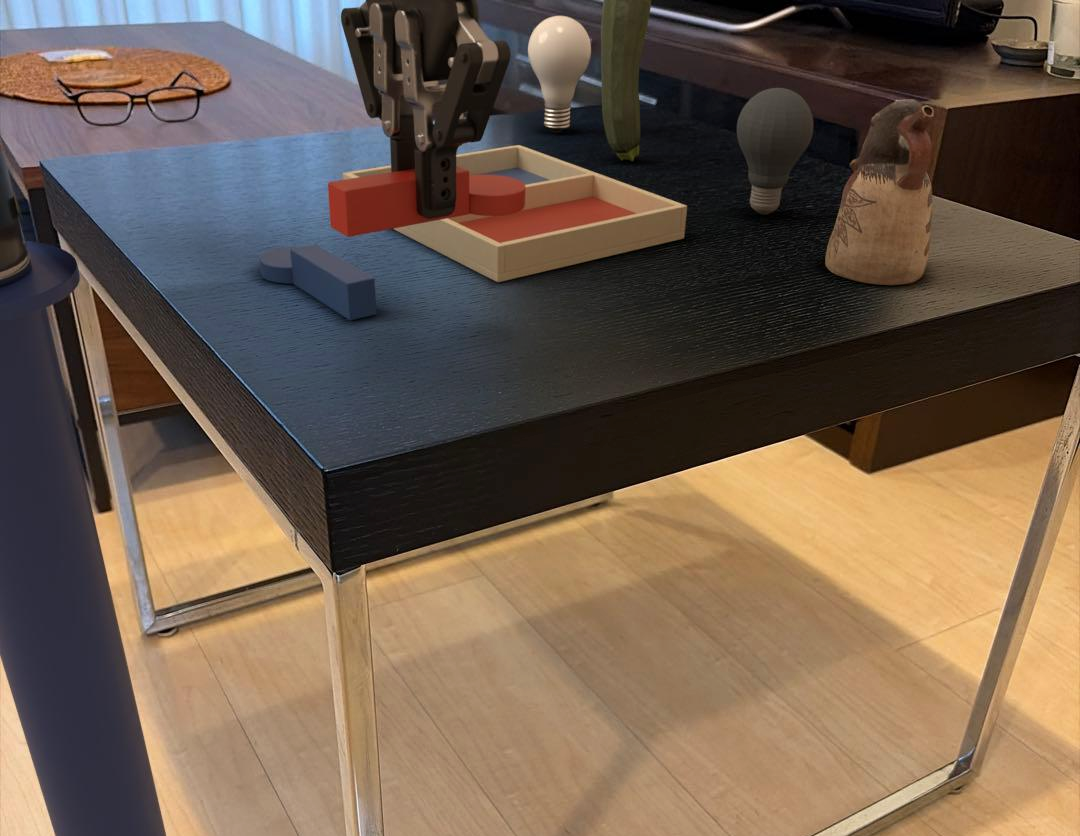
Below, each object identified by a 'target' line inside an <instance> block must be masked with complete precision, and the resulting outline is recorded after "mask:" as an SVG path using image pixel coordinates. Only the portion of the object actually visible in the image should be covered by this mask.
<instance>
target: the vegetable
mask: <svg viewBox="0 0 1080 836" xmlns="http://www.w3.org/2000/svg"><path fill="white" fill-rule="evenodd" d="M602 2H603V3H602V8H601V24H600V26H601V27H600V44H601V45H600V47H601V48H600V50H601V56H600V57H601V58H600V61H601V62H600V65H601V66H600V67H601V73H600V74H601V106H602V107H601V109H602V121H603V126H604V127H603V128H604V132H605V136H606V139H607V140H606V141H607V143H608V145H609V147H610V148H611V149H612V151H613V152H614V153H615V154H616V156H617V158H618V159H619V160H620V161H624V160H629V161H630V162H634V160H635V157H638V156H639V154H640V142H641V112H640V111H641V106H640V105H641V103H640V92H639V78H640V77H639V75H640V65H641V64H640V62H641V56H642V51H643V48H644V43H645V38H646V35H647V34H646V33H647V30H648V24H649V20H650V13H651V7H652V0H602Z"/></svg>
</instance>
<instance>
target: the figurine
mask: <svg viewBox="0 0 1080 836" xmlns="http://www.w3.org/2000/svg"><path fill="white" fill-rule="evenodd" d="M934 116H935V111H934V108H933V107H931V106H930V105H922V104H921V103H920V102H919V101H918V100H915V99H912V98H911V99H896V100H894V102H892V103H890V104H888V105H887V106H885V107H883V108H882V109H880V110H879V111H877V113H875V115H874V116H873V117H871V120H870V127H869V129H868V132H867V136H866V138H865V140H864V142H863V144H862V147H861V151H860V154H859V157H857V158H855V159H852V161H851V162H850V163H849V167H850V168H851V169H852V171H853V173H852V174H851V175H850V177H849V178H848V180H847V181H846V183H845V185H844V187H843V191H842V196H841V201H840V205H839V210H838V213H837V217H836V220H835V222H834V223H835V224H834V227H833V229H832V232H831V235H830V237H829V239H828V243H827V246H826V251H825V255H824V257H825V259H824V260H825V261H824V262H825V263H824V264H825V265H824V266H825V267H826V268H827V270H828V271H830V272H831V273H832V274H835V276H839V277H841V278H844V279H847V280H850V281H854V282H858V283H864V284H870V285H879V286H880V285H882V286H898V285H906V284H907V285H908V284H912V283H914V282H916V281H918V280H920V279H921V278H922V277H923V276H924V273H925V271H926V268H927V264H928V260H929V256H930V245H931V232H932V231H931V230H932V229H931V228H932V218H933V217H932V216H933V215H932V214H933V187H932V183H931V178H930V176H929V174H928V172H927V171H928V168H929V165H930V162H931V157H932V142H931V137H930V135H929V134H928V131H927V128H928V126H929V124H930V123H931V122H932V121H933V118H934Z"/></svg>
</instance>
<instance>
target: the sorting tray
mask: <svg viewBox="0 0 1080 836" xmlns="http://www.w3.org/2000/svg"><path fill="white" fill-rule="evenodd" d="M456 166H458V167H461V168H463V169H465V170H468V171H469V176H471V175H499V176H506V177H511V178H514V179H517V180H519V181H521V182H523V183H524V184H525V187H526V191H525V207H524V208H523V209H522V210H521V211H519V212H516V213H513V214H508V215H500V216H482V215H473V214H468V215H462V216H457V217H452V218H446V219H441V220H436V221H430V222H425V223H420V224H415V225H409V226H404V227H399V228H393V229H392V230H394V231H396V232H398V233H400V234H402V235H404V236H406V237H408V238H409V239H411V240H413V241H416V242H418V243H419V244H421V245H424V246H425V247H427V248H429V249H431V250H433V251H435V252H437V253H439V254H441V255H442V256H445V257H446V258H449V259H451V260H452V261H455V262H457V263H459V264H461V265H463V266H464V267H467V268H469V269H471V270H473V271H474V272H476V273H477V274H480V275H483V276H484V277H486V278H488V279H490V280H492V281H494V282H496V283H501V282H505V281H511V280H514V279H517V278H518V279H519V278H523V277H527V276H531V275H536V274H539V273H544V272H548V271H552V270H557V269H561V268H565V267H569V266H573V265H577V264H582V263H586V262H590V261H594V260H595V261H596V260H598V259H603V258H608V257H612V256H615V255H621V254H624V253H628V252H629V253H630V252H632V251H638V250H641V249H645V248H649V247H654V246H659V245H662V244H666V243H671V242H675V241H679V240H683V239H684V238H685V232H686V223H687V222H686V221H687V212H688V205H686V204H683V203H681V202H678V201H675V200H672V199H669V198H667V197H664V196H662V195H658V194H656V193H654V192H650V191H647V190H644V189H642V188H639V187H636V186H633V185H632V184H628V183H625V182H623V181H620V180H618V179H614V178H612V177H609V176H607V175H604V174H601V173H597V172H595V171H593V170H589V169H587V168H584V167H581V166H579V165H576V164H573V163H570V162H567V161H565V160H562V159H559V158H557V157H554V156H552V155H551V156H550V155H548V154H545V153H542V152H540V151H537V150H535V149H531V148H529V147H526V146H523V145H521V144H516V145H509V146H504V147H498V148H497V147H496V148H490V149H484V150H478V151H472V152H466V153H465V152H464V153H460V154H456ZM390 172H391V164H390V165H384V166H377V167H371V168H365V169H359V170H352V171H347V172H342V180H345V179H352V178H358V177H365V176H371V175H377V174H384V173H390Z"/></svg>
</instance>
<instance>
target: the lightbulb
mask: <svg viewBox="0 0 1080 836" xmlns="http://www.w3.org/2000/svg"><path fill="white" fill-rule="evenodd" d="M591 43H592V42H591V39H590V36H589V34H588V32H587V30H586V28H585V27H584V26H583V25H582V24H581V23H580V22H578V20H576V19H574V18H572V17H570V16H565V15H554V16H553V15H552V16H550V17H547V18H545V19H543V20H542V21H540V22H539V23H538V25H536V27H535V28H534V29H533V30H532V32H531V35H530V37H529V39H528V45H527V57H528V61H529V65H530V67H531V69H532V72H533V73H534V74H535V76H536V78H537V80H538V82H539V85H540V89H541V95H542V96H541V97H542V98H543V100H544V107H545V108H544V118H543V119H544V122H543V126H544V127H546V128H547V129H548V130H550V131H551V132H553V133H561V132H563V131H565V130H566V129H568V128H569V127H570V126H571V124H570V122H571V120H570V119H571V111H570V110H571V107H572V105H571V104H572V100H573V99H574V96H575V91H576V89H577V88H576V87H577V85H578V83H579V81H580V79H581V78H582V76H583V75H584V73H585V72H586V70H587V69H588V66H589V64H590V61H591V56H592V44H591Z"/></svg>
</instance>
